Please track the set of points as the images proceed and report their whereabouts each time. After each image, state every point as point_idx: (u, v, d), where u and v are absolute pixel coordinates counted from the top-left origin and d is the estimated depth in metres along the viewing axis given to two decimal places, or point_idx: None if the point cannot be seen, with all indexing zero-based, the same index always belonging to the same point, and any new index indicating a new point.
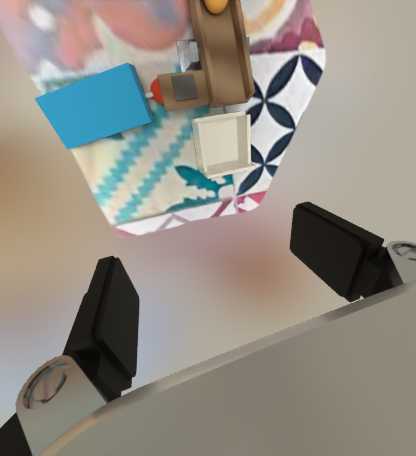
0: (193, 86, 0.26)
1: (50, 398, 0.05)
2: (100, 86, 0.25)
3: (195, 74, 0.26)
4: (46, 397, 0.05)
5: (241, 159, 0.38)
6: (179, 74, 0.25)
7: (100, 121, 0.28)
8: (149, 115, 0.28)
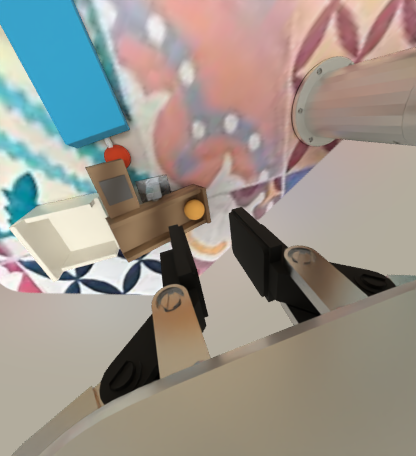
0: (120, 199, 0.24)
1: (168, 310, 0.06)
2: (93, 80, 0.20)
3: (134, 199, 0.25)
4: (166, 308, 0.06)
5: (69, 256, 0.31)
6: (129, 183, 0.24)
7: (46, 66, 0.19)
8: (76, 143, 0.21)
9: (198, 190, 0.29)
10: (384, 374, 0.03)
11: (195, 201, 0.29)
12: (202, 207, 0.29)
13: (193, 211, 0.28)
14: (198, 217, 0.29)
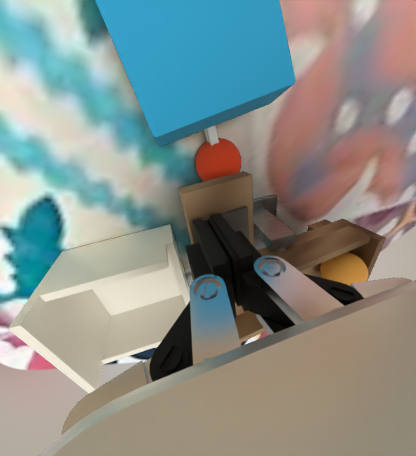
0: None
1: (204, 298, 0.06)
2: None
3: None
4: (202, 296, 0.06)
5: (111, 328, 0.19)
6: (249, 222, 0.12)
7: None
8: (172, 134, 0.09)
9: (366, 239, 0.14)
10: (384, 374, 0.03)
11: (355, 260, 0.14)
12: (367, 274, 0.14)
13: (349, 281, 0.14)
14: None
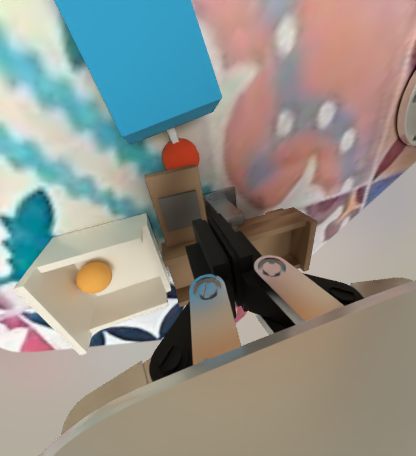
0: (184, 225, 0.16)
1: (204, 298, 0.06)
2: (173, 15, 0.11)
3: None
4: (203, 296, 0.06)
5: (97, 305, 0.22)
6: (200, 202, 0.16)
7: None
8: (136, 134, 0.12)
9: (303, 222, 0.17)
10: (384, 374, 0.03)
11: (86, 270, 0.18)
12: (90, 284, 0.18)
13: (77, 284, 0.19)
14: (87, 292, 0.19)
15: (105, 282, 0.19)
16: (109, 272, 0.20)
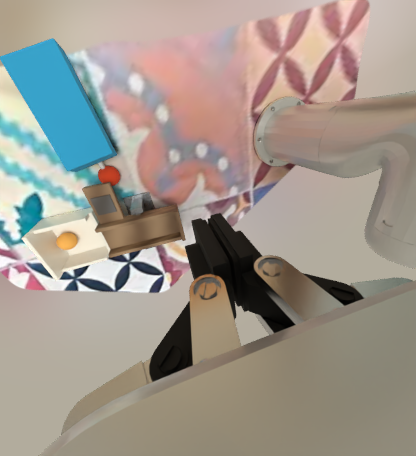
0: (106, 212, 0.32)
1: (204, 298, 0.06)
2: (86, 121, 0.26)
3: (118, 212, 0.32)
4: (202, 296, 0.06)
5: (68, 259, 0.37)
6: (113, 200, 0.31)
7: (51, 113, 0.25)
8: (75, 169, 0.28)
9: (173, 212, 0.33)
10: (384, 374, 0.03)
11: (62, 236, 0.34)
12: (65, 242, 0.34)
13: (57, 244, 0.34)
14: (63, 249, 0.35)
15: (73, 242, 0.35)
16: (75, 238, 0.36)
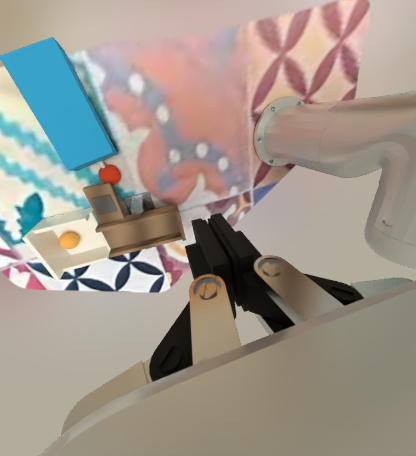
0: (107, 212, 0.32)
1: (204, 298, 0.06)
2: (87, 120, 0.26)
3: (118, 212, 0.32)
4: (202, 296, 0.06)
5: (69, 259, 0.37)
6: (114, 200, 0.31)
7: (51, 112, 0.25)
8: (75, 168, 0.28)
9: (173, 212, 0.33)
10: (384, 374, 0.03)
11: (64, 235, 0.34)
12: (68, 241, 0.34)
13: (59, 243, 0.34)
14: (66, 248, 0.35)
15: (76, 241, 0.35)
16: (77, 236, 0.36)
